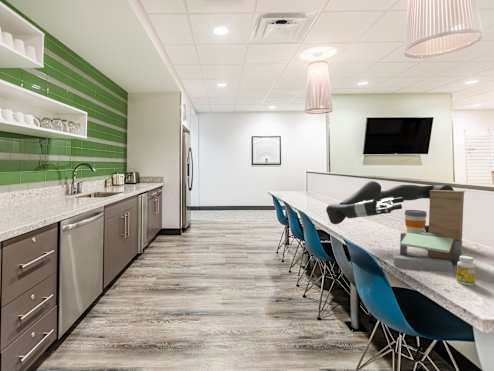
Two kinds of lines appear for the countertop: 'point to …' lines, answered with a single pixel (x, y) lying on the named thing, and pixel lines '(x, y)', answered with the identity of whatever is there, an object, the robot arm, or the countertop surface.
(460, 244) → the trapdoor frame
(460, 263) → the supplement bottle
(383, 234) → the countertop surface
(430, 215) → the walnut pedestal
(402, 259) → the slate bar
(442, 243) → the trapdoor
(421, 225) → the reusable coffee cup
